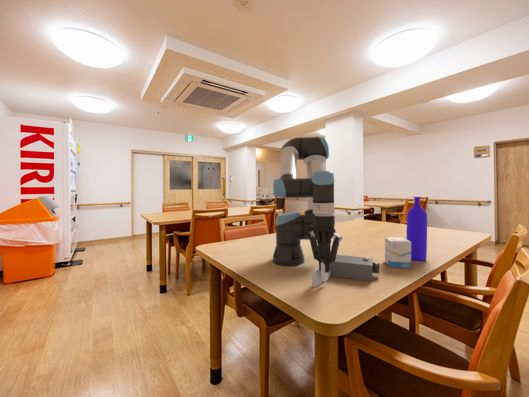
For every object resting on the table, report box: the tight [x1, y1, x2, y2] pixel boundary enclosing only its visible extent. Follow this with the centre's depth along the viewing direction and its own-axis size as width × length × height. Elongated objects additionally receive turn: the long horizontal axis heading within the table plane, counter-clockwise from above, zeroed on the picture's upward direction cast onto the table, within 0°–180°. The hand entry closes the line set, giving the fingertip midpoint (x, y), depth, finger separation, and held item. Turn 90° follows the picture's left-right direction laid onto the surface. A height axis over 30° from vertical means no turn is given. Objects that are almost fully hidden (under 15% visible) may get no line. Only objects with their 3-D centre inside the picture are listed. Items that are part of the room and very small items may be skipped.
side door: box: [311, 263, 332, 288], centre depth 89 cm, size 14×2×6 cm, turn 140°
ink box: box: [384, 236, 412, 269], centre depth 106 cm, size 9×8×12 cm
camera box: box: [331, 254, 380, 282], centre depth 95 cm, size 18×10×7 cm, turn 65°
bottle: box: [406, 196, 428, 262], centre depth 113 cm, size 8×8×30 cm
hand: (324, 280), depth 85 cm, fingers closed
